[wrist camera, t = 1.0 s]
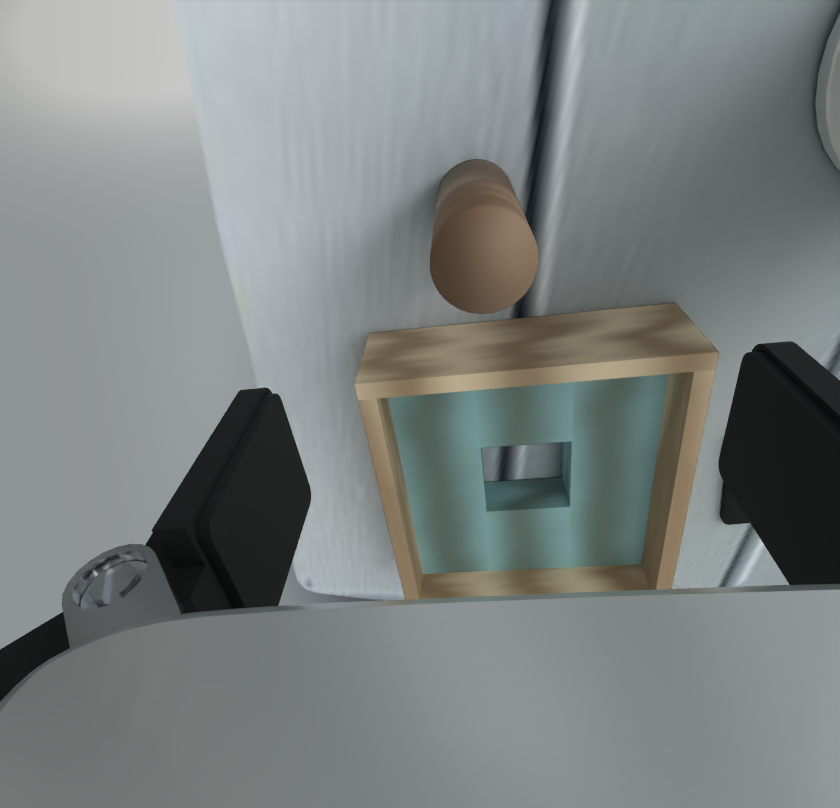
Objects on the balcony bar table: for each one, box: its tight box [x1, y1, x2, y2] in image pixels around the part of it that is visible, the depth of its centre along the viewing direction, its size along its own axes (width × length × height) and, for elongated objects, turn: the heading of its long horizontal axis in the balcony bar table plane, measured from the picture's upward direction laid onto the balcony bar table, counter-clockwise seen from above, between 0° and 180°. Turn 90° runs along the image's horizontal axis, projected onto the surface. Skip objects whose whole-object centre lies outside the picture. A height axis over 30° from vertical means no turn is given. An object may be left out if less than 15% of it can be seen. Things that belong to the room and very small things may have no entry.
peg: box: [430, 159, 539, 314], centre depth 24 cm, size 4×4×10 cm
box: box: [354, 303, 719, 600], centre depth 34 cm, size 18×20×6 cm
